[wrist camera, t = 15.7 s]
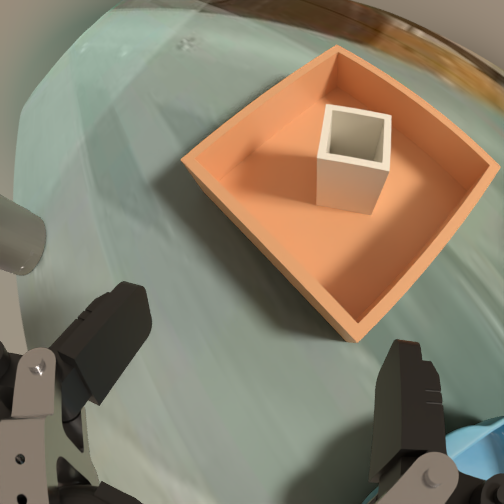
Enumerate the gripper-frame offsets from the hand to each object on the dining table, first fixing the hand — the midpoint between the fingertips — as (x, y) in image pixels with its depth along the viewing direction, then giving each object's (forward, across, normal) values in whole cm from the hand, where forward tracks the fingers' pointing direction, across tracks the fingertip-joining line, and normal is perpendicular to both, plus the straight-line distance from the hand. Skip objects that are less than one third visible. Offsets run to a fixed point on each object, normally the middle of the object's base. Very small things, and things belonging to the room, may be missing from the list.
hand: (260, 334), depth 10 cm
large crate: (+26, -3, +4) cm, 27 cm away
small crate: (+26, -3, +3) cm, 26 cm away
